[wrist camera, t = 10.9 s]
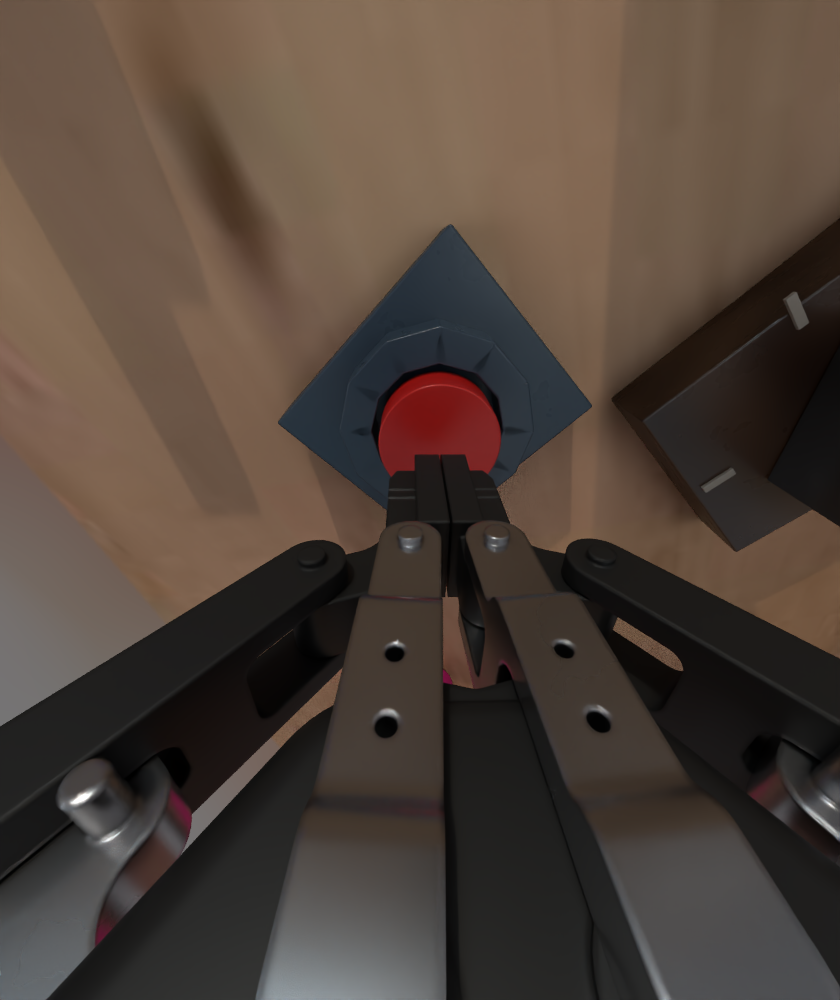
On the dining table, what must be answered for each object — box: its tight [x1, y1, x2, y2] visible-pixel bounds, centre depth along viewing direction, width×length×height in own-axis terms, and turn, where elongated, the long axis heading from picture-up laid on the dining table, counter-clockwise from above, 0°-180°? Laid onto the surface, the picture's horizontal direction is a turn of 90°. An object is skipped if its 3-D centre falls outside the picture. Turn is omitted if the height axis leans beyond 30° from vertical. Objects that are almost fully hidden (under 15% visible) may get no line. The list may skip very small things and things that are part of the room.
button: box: [378, 371, 501, 477], centre depth 15 cm, size 4×4×2 cm
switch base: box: [612, 219, 840, 552], centre depth 18 cm, size 12×11×3 cm
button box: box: [278, 224, 592, 510], centre depth 17 cm, size 10×9×4 cm
